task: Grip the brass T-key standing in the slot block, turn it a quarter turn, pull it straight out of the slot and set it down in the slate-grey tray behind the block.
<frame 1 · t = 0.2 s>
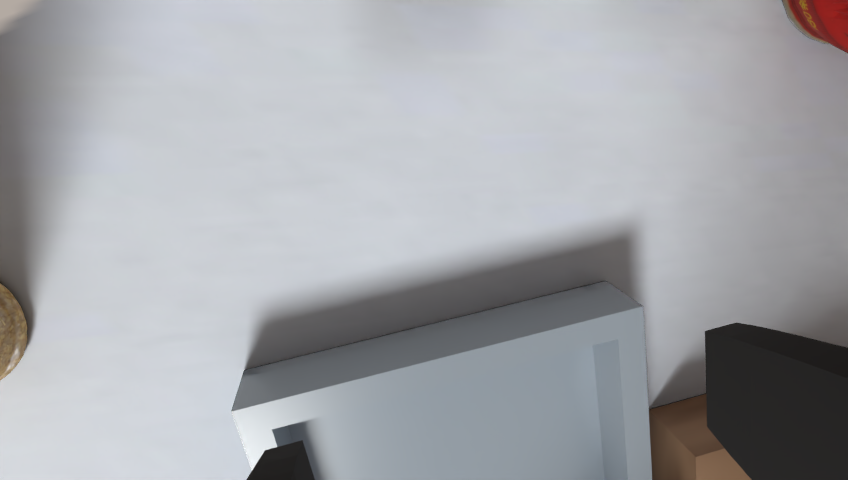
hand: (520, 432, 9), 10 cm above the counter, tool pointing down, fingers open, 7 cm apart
tray: (461, 472, 21), on the counter
slot block: (759, 476, 24), on the counter
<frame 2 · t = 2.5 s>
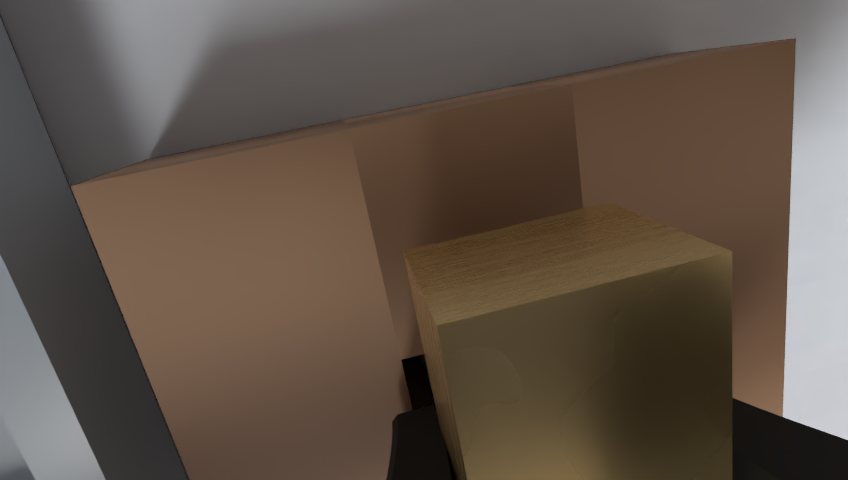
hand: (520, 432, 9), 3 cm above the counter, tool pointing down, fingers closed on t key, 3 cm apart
slot block: (469, 341, 12), on the counter
t key: (517, 427, 9), in the slot block, touching gripper
when the fingers open (5 cm above the counter, at t = 7.0 s): t key stays where it is, resting on tray.
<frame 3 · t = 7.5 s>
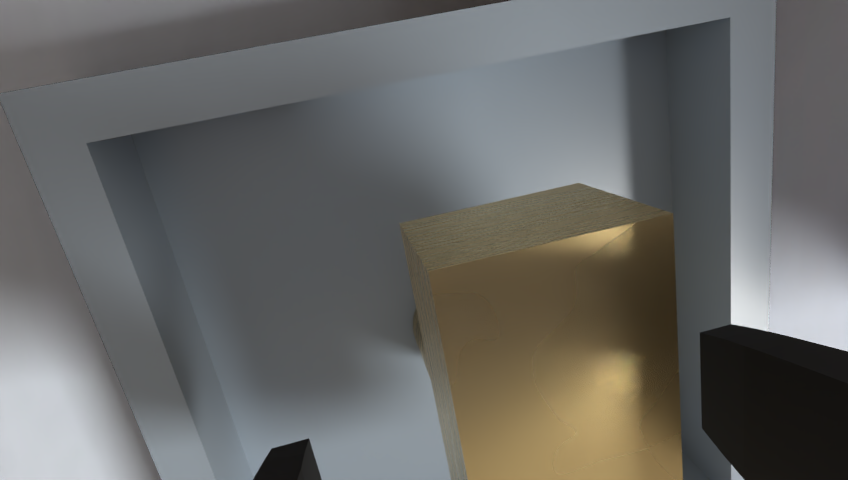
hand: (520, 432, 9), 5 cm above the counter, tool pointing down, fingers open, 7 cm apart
tray: (454, 314, 13), on the counter
t key: (502, 392, 10), in the tray
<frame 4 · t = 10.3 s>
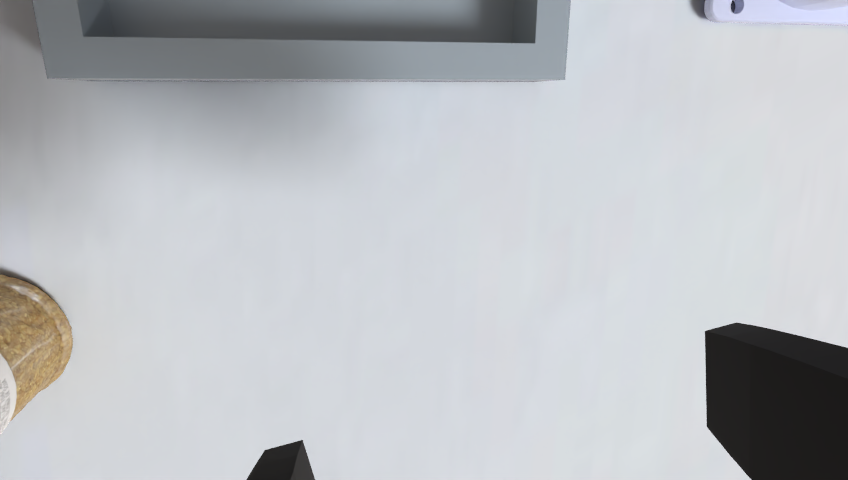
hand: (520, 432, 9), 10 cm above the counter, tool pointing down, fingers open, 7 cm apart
sprinkles bottle: (7, 330, 17), on the counter
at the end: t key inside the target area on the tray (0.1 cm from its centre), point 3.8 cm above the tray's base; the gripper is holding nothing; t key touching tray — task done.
